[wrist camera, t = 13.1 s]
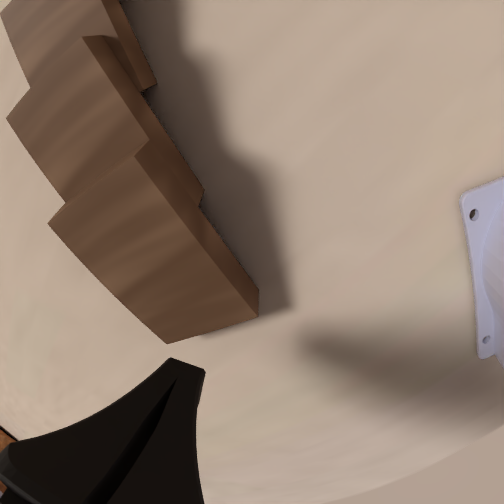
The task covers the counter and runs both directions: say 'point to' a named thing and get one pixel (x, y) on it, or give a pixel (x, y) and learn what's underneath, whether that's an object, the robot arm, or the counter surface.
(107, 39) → the domino
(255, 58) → the counter surface
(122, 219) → the domino
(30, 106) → the domino
